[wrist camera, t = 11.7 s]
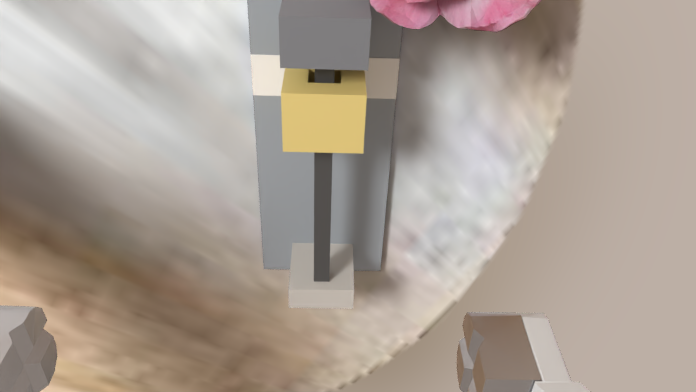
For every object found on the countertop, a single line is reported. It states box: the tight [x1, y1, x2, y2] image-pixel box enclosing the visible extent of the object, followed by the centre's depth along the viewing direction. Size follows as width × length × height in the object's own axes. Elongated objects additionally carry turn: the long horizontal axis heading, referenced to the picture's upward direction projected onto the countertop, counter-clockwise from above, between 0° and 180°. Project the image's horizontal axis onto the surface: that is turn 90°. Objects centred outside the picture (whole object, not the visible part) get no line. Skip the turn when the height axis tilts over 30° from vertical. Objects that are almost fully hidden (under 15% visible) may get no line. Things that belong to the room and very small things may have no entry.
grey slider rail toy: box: [247, 0, 403, 309], centre depth 43 cm, size 10×25×7 cm, turn 178°
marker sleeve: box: [281, 68, 367, 154], centre depth 39 cm, size 5×4×5 cm
